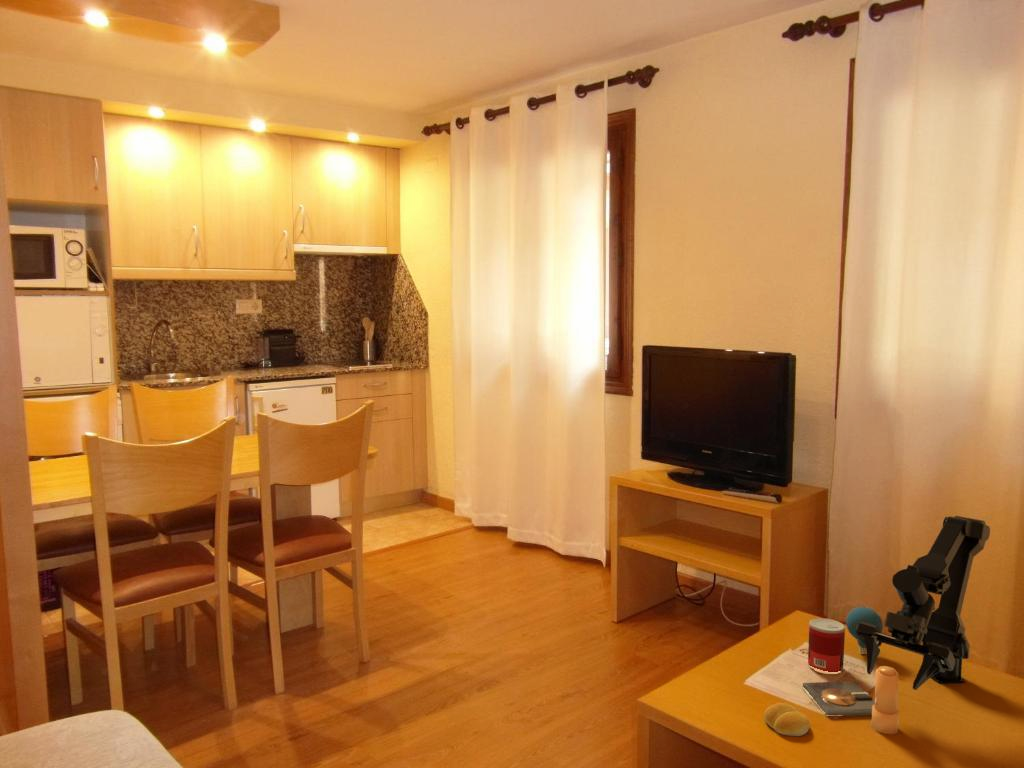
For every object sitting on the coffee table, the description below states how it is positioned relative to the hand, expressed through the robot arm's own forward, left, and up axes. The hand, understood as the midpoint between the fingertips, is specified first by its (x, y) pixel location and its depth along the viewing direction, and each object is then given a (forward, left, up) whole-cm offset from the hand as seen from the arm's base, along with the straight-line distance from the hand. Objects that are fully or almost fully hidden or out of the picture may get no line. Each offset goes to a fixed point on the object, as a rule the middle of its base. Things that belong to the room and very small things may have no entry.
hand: (890, 681), depth 160 cm
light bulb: (-11, -33, -10) cm, 36 cm away
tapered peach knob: (+2, +1, -9) cm, 10 cm away
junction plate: (+6, -10, -9) cm, 15 cm away
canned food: (+2, -26, -10) cm, 28 cm away
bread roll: (+22, -1, -10) cm, 24 cm away
